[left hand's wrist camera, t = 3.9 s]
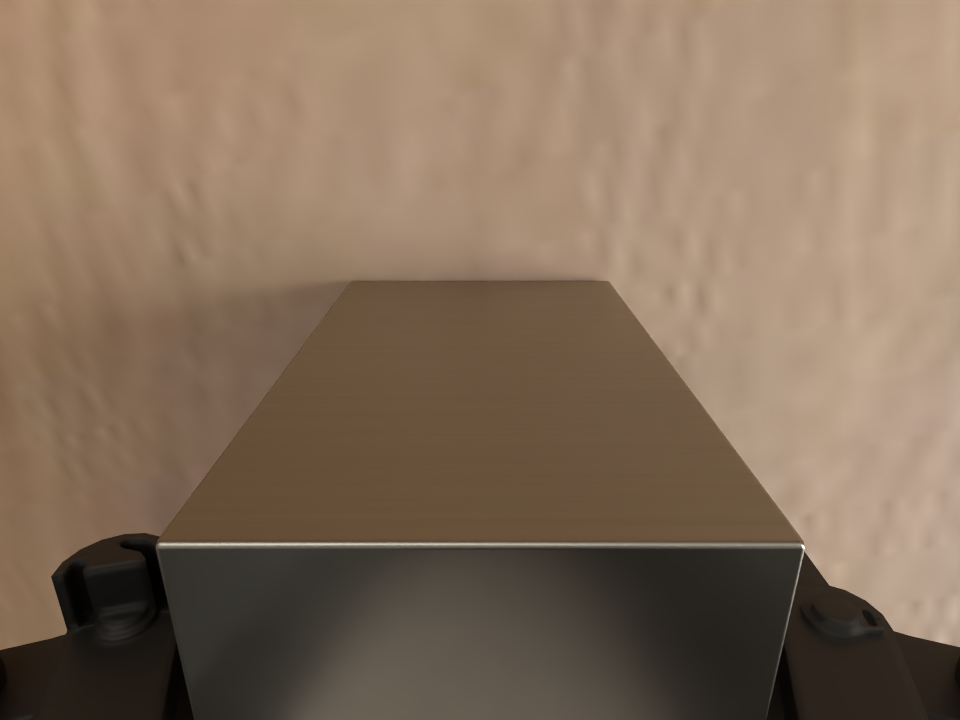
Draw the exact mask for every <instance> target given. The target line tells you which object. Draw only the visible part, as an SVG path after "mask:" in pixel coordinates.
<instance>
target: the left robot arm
mask: <svg viewBox="0 0 960 720" xmlns="http://www.w3.org/2000/svg"><path fill="white" fill-rule="evenodd" d="M159 538H160V537H159V536H155V535H150V534H146V533H139V534H123V535H119V536H116V537H112V538H108V539H104V540H101V541H99V542H96V543H94V544H92V545H90V546H87V547H85V548H83V549H81V550H79V551H78V552H76V553H75V554H74V555H72V556H71V557H69V558H68V559H67V560H65V561H64V562H62V564H61V565H60V566H59V568H58V569H57V570H56V571H55V573H54V574H53V575H52V576H51V577H52V581H53V584H54V587H55V591H56V594H57V597H58V601H59V604H60V607H61V610H62V614H63V617H64V620H65V624H66V627H67V633H66V634H65V635H62V636H58V637H55V638H52V639H47V640H43V641H38V642H34V643H30V644H25V645H21V646H17V647H12V648H8V649H3V650H0V720H194V717H193V712H192V708H191V703H190V699H189V694H188V690H187V685H186V681H185V677H184V672H183V668H182V663H181V659H180V654H179V650H178V645H177V641H176V637H175V632H174V628H173V623H172V619H171V614H170V610H169V605H168V601H167V597H166V592H165V588H164V583H163V579H162V574H161V570H160V565H159V561H158V557H157V552H156V543H157V540H158V539H159ZM766 720H960V647H956V646H951V645H947V644H943V643H938V642H934V641H929V640H925V639H921V638H916V637H912V636H908V635H905V634H901V633H898V632H894V631H893V629H892V628H891V626H890V625H889V624H888V622H887V621H886V619H885V618H884V616H883V615H882V614H881V613H880V612H879V611H878V610H876V609H875V608H874V607H873V606H871V605H870V604H869V603H868V602H867V601H865V600H863V599H861V598H859V597H857V596H855V595H853V594H851V593H850V592H848V591H846V590H843V589H839V588H836V587H832V586H829V585H828V583H827V582H826V581H825V579H824V578H823V576H822V575H821V574H820V572H819V571H818V570H817V568H816V567H815V565H814V564H813V563H812V561H811V560H810V559H809V557H808V556H807V555H806V553H805V552H804V554H803V558H802V563H801V567H800V572H799V576H798V581H797V585H796V589H795V594H794V598H793V603H792V607H791V612H790V616H789V620H788V625H787V629H786V634H785V638H784V643H783V647H782V652H781V656H780V660H779V665H778V669H777V674H776V678H775V683H774V687H773V691H772V696H771V700H770V705H769V709H768V714H767V718H766Z"/></svg>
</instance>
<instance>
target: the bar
mask: <svg viewBox="0 0 960 720" xmlns="http://www.w3.org/2000/svg"><path fill="white" fill-rule="evenodd" d="M804 550H805V546H804V542H803V540H802V539H801V537H800V536H799V535H798V533H797V532H796V531H795V529H794V528H793V527H792V525H791V524H790V523H789V521H788V520H787V519H786V517H785V516H784V515H783V513H782V512H781V511H780V509H779V508H778V507H777V505H776V504H775V503H774V501H773V500H772V499H771V497H770V496H769V495H768V493H767V492H766V491H765V489H764V488H763V487H762V485H761V484H760V483H759V481H758V480H757V479H756V477H755V476H754V475H753V473H752V472H751V470H750V469H749V468H748V466H747V465H746V464H745V462H744V461H743V460H742V458H741V457H740V456H739V454H738V453H737V452H736V450H735V449H734V448H733V446H732V445H731V444H730V442H729V441H728V440H727V438H726V437H725V436H724V434H723V433H722V432H721V430H720V429H719V428H718V426H717V425H716V424H715V422H714V421H713V420H712V418H711V417H710V416H709V414H708V413H707V412H706V410H705V409H704V408H703V406H702V405H701V404H700V402H699V401H698V400H697V398H696V397H695V396H694V394H693V393H692V392H691V390H690V389H689V388H688V386H687V385H686V384H685V382H684V381H683V380H682V378H681V377H680V376H679V374H678V373H677V372H676V370H675V369H674V368H673V366H672V365H671V364H670V362H669V361H668V360H667V358H666V357H665V356H664V354H663V353H662V352H661V350H660V349H659V348H658V346H657V345H656V344H655V342H654V341H653V340H652V338H651V337H650V336H649V334H648V333H647V332H646V330H645V329H644V328H643V326H642V325H641V324H640V322H639V321H638V320H637V318H636V317H635V316H634V314H633V313H632V312H631V310H630V309H629V308H628V306H627V305H626V304H625V302H624V301H623V300H622V298H621V297H620V296H619V294H618V293H617V292H616V290H615V289H614V288H613V286H612V285H611V284H610V282H608V281H352V282H350V284H349V285H348V286H347V288H346V289H345V290H344V292H343V293H342V294H341V296H340V297H339V298H338V300H337V301H336V302H335V304H334V305H333V306H332V308H331V309H330V310H329V312H328V313H327V314H326V316H325V317H324V318H323V320H322V321H321V322H320V324H319V325H318V327H317V328H316V329H315V331H314V332H313V333H312V335H311V336H310V337H309V339H308V340H307V341H306V343H305V344H304V345H303V347H302V348H301V349H300V351H299V352H298V353H297V355H296V356H295V357H294V359H293V360H292V361H291V363H290V364H289V365H288V367H287V368H286V369H285V371H284V372H283V373H282V375H281V376H280V377H279V379H278V380H277V381H276V383H275V384H274V385H273V387H272V388H271V389H270V391H269V392H268V393H267V395H266V396H265V397H264V399H263V400H262V401H261V403H260V404H259V405H258V407H257V408H256V409H255V411H254V412H253V413H252V415H251V416H250V417H249V419H248V420H247V421H246V423H245V424H244V425H243V427H242V428H241V429H240V431H239V432H238V433H237V435H236V436H235V438H234V439H233V440H232V442H231V443H230V444H229V446H228V447H227V448H226V450H225V451H224V452H223V454H222V455H221V456H220V458H219V459H218V460H217V462H216V463H215V464H214V466H213V467H212V468H211V470H210V471H209V472H208V474H207V475H206V476H205V478H204V479H203V480H202V482H201V483H200V484H199V486H198V487H197V488H196V490H195V491H194V492H193V494H192V495H191V496H190V498H189V499H188V500H187V502H186V503H185V504H184V506H183V507H182V508H181V510H180V511H179V512H178V514H177V515H176V516H175V518H174V519H173V520H172V522H171V523H170V524H169V526H168V527H167V528H166V530H165V531H164V532H163V534H162V535H161V536H160V538H159V539H158V540H157V543H156V552H157V557H158V561H159V565H160V570H161V574H162V579H163V583H164V588H165V592H166V597H167V601H168V605H169V610H170V614H171V619H172V623H173V628H174V632H175V637H176V641H177V645H178V650H179V654H180V659H181V663H182V668H183V672H184V677H185V681H186V685H187V690H188V694H189V699H190V703H191V708H192V712H193V717H194V720H766V718H767V714H768V709H769V705H770V700H771V696H772V691H773V687H774V683H775V678H776V674H777V669H778V665H779V660H780V656H781V652H782V647H783V643H784V638H785V634H786V629H787V625H788V620H789V616H790V612H791V607H792V603H793V598H794V594H795V589H796V585H797V581H798V576H799V572H800V567H801V563H802V558H803V554H804Z"/></svg>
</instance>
